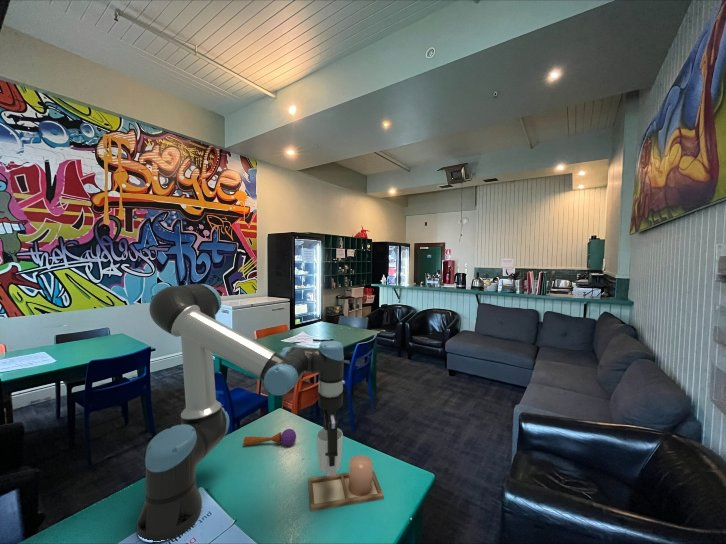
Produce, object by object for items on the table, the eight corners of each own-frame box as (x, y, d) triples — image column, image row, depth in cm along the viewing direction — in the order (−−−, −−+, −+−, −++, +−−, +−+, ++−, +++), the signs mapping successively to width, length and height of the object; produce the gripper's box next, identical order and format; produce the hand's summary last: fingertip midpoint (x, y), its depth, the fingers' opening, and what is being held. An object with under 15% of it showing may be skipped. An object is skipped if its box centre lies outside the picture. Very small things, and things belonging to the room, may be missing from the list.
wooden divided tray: (310, 515, 84) (310, 507, 84) (308, 484, 96) (308, 478, 96) (383, 502, 89) (383, 495, 89) (373, 475, 101) (373, 468, 101)
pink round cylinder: (351, 498, 89) (351, 472, 89) (346, 480, 96) (347, 456, 96) (374, 494, 91) (375, 468, 91) (368, 477, 98) (369, 453, 98)
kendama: (247, 430, 119) (296, 425, 121) (247, 446, 118) (297, 441, 120) (242, 436, 113) (294, 431, 115) (242, 452, 112) (294, 447, 114)
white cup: (329, 478, 85) (330, 445, 85) (311, 467, 90) (311, 435, 90) (347, 464, 92) (347, 433, 92) (328, 454, 97) (329, 424, 96)
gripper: (348, 406, 82) (347, 487, 82) (337, 379, 101) (336, 444, 102) (321, 409, 80) (320, 492, 80) (315, 380, 100) (314, 447, 100)
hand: (329, 465), depth 91 cm, fingers closed on white cup, 7 cm apart
